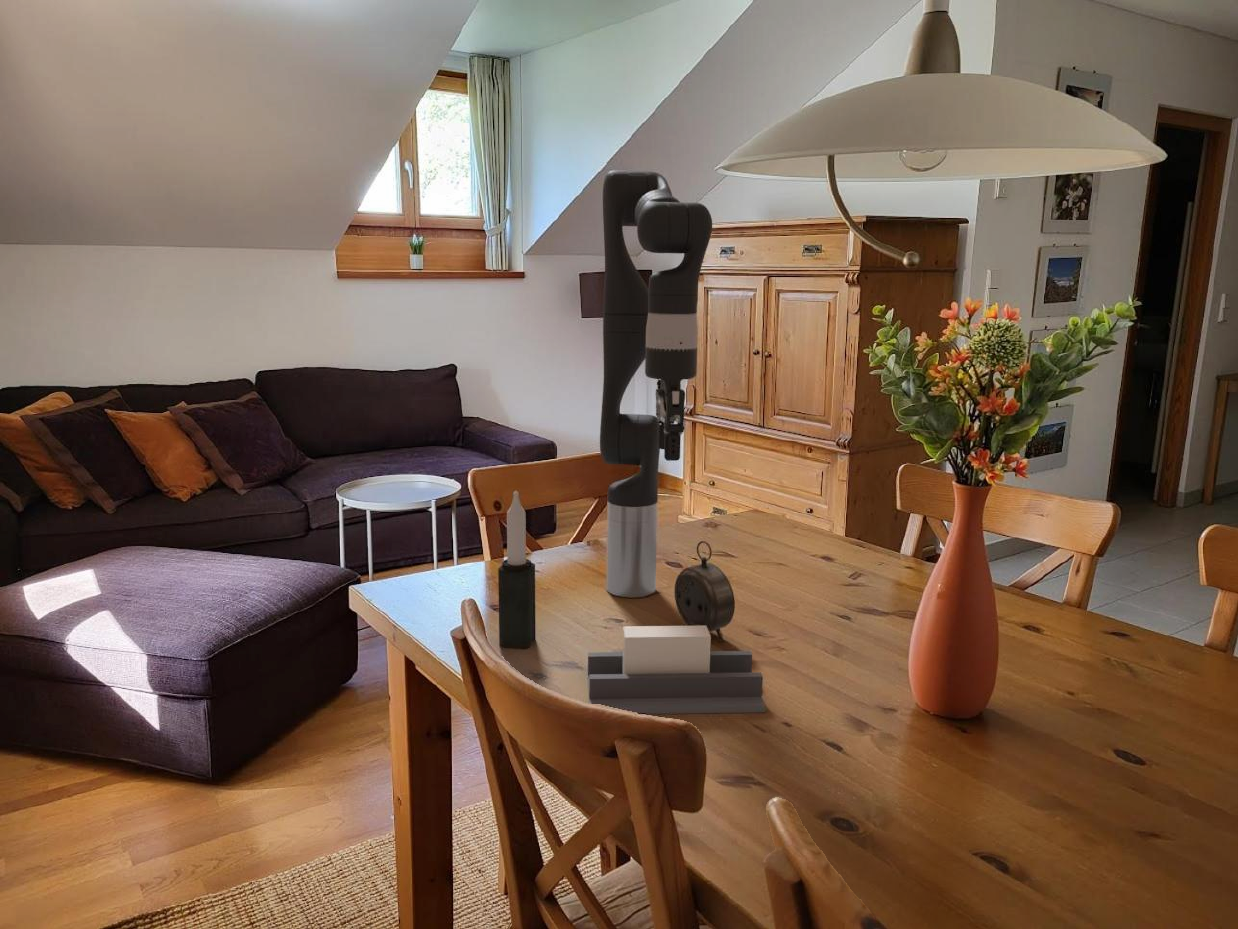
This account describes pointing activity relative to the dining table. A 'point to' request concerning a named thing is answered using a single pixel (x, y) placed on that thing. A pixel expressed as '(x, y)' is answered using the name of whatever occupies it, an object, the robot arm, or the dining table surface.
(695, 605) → the alarm clock
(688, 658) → the white rectangular block
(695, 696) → the door track
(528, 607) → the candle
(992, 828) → the dining table surface
